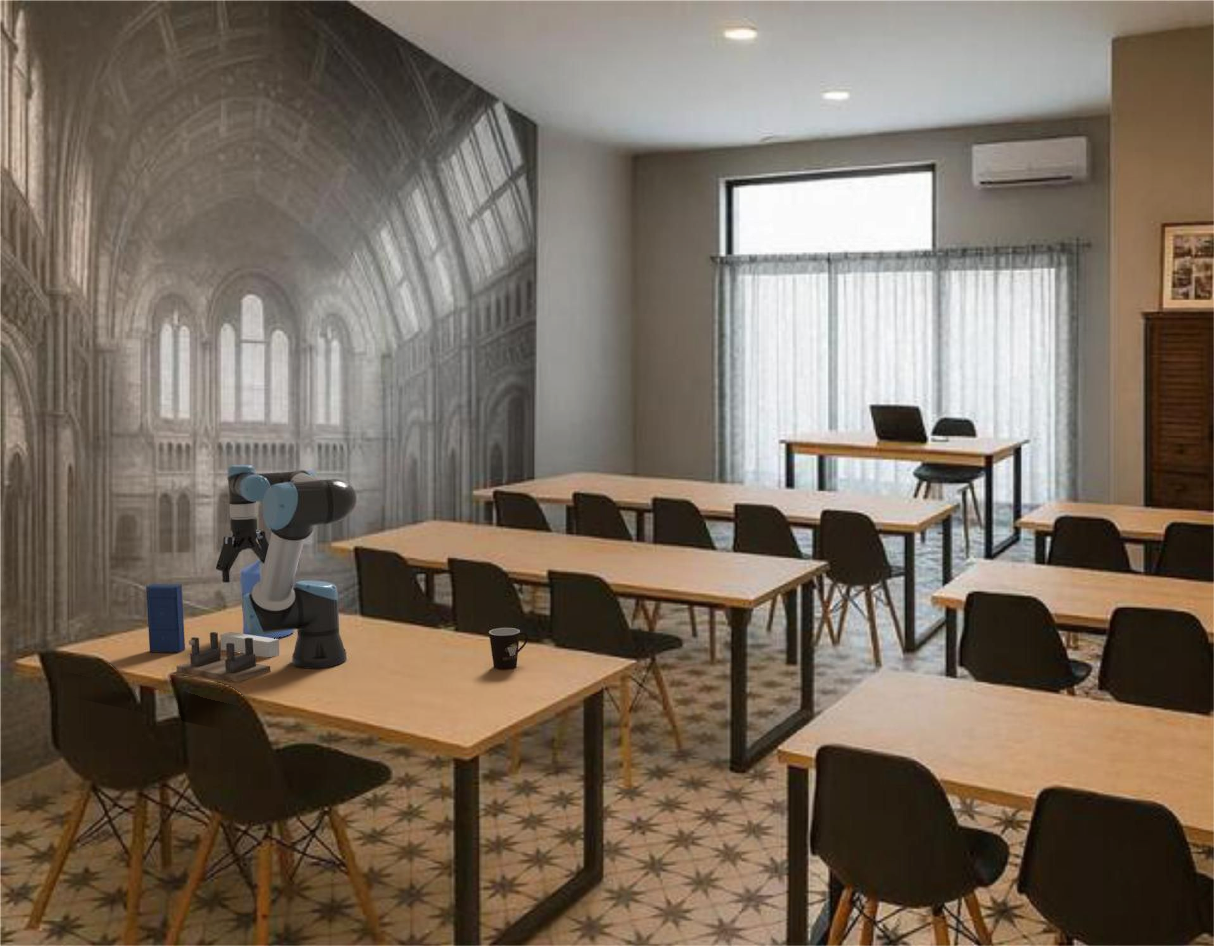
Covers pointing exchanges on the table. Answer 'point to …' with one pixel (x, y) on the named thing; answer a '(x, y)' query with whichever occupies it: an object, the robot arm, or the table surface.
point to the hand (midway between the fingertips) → (247, 589)
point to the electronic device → (165, 617)
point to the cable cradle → (222, 661)
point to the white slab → (260, 644)
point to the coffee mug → (505, 647)
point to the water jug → (248, 581)
